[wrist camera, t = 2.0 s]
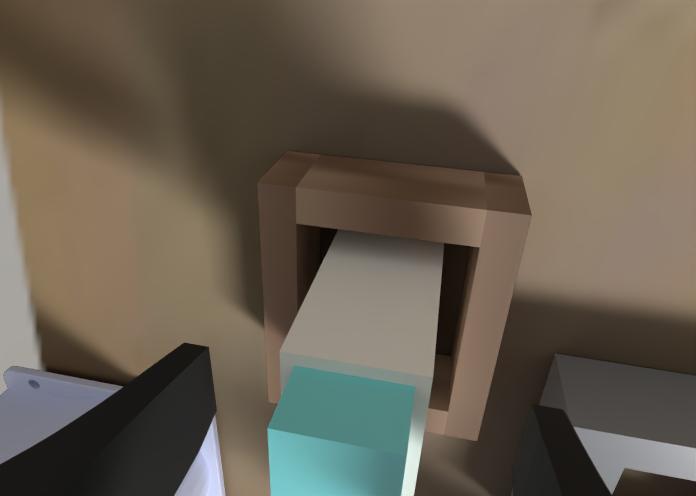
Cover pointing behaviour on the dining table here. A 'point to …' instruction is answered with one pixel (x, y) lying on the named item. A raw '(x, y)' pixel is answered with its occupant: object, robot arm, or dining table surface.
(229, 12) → the dining table surface
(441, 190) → the brown wooden frame
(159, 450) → the robot arm
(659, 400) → the port panel
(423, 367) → the plug
